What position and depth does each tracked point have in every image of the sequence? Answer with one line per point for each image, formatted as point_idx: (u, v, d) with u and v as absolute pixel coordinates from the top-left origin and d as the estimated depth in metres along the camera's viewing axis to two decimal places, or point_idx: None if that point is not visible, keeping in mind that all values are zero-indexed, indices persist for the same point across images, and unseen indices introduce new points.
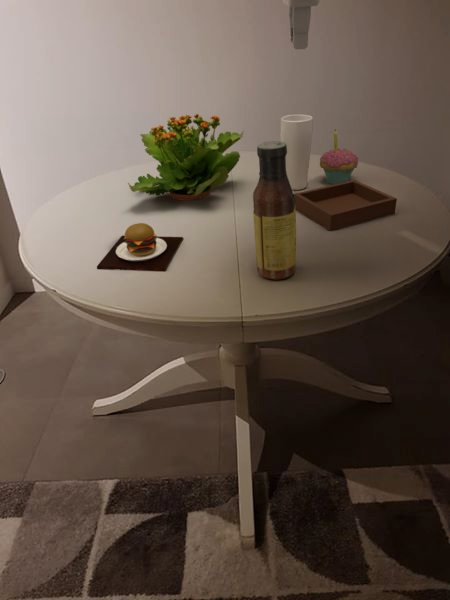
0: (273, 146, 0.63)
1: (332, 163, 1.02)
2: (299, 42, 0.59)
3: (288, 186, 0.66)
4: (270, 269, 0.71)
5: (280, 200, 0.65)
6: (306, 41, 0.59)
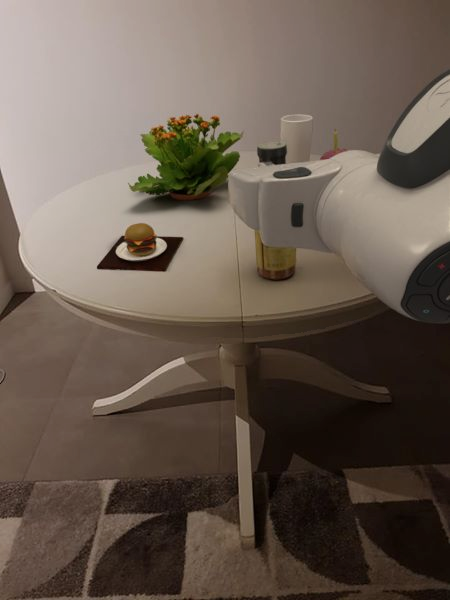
0: (273, 146, 0.63)
1: None
2: None
3: None
4: (270, 269, 0.71)
5: None
6: None
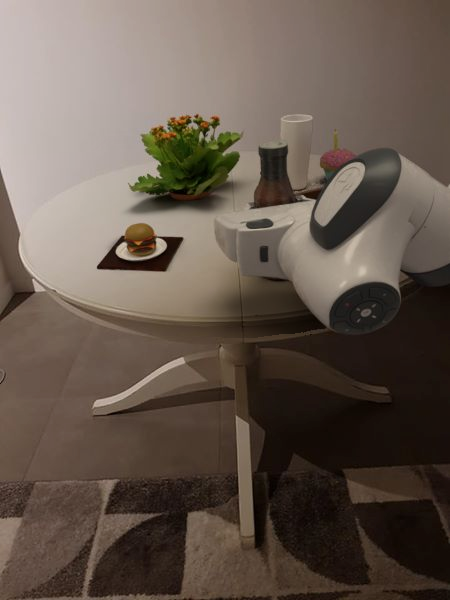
0: (274, 146, 0.63)
1: (332, 163, 1.02)
2: None
3: (289, 186, 0.66)
4: None
5: (280, 200, 0.65)
6: None
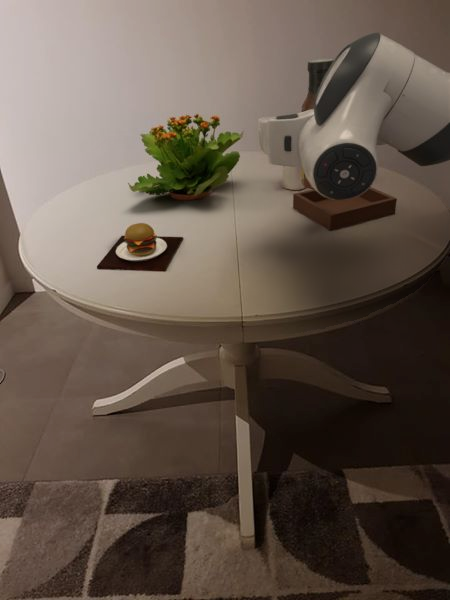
0: (321, 61, 0.72)
1: None
2: None
3: None
4: None
5: None
6: None
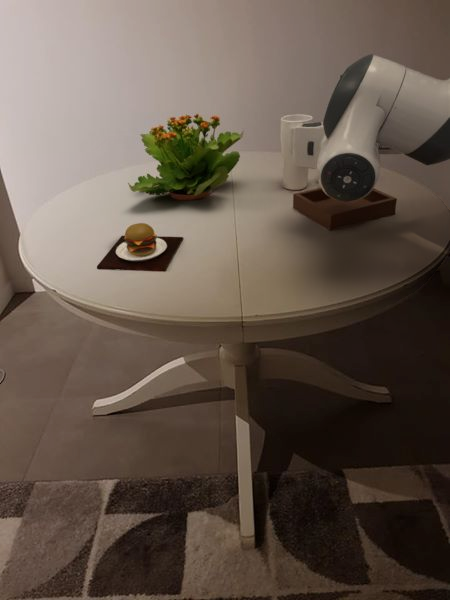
0: None
1: None
2: None
3: None
4: None
5: None
6: None
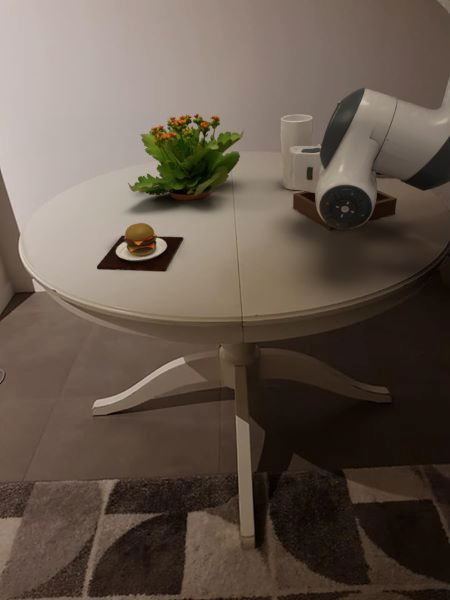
0: None
1: None
2: None
3: None
4: None
5: None
6: None
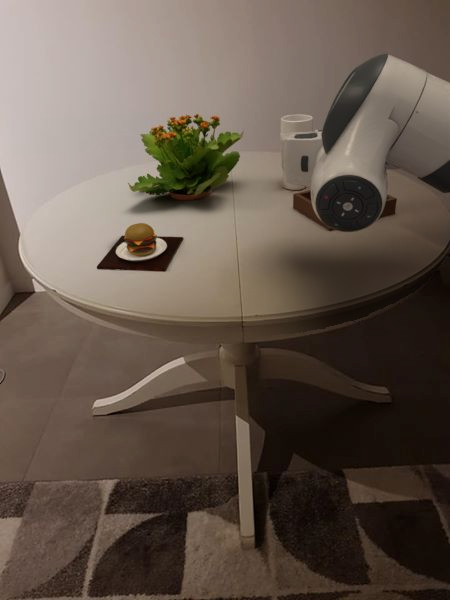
0: None
1: None
2: None
3: None
4: None
5: None
6: None
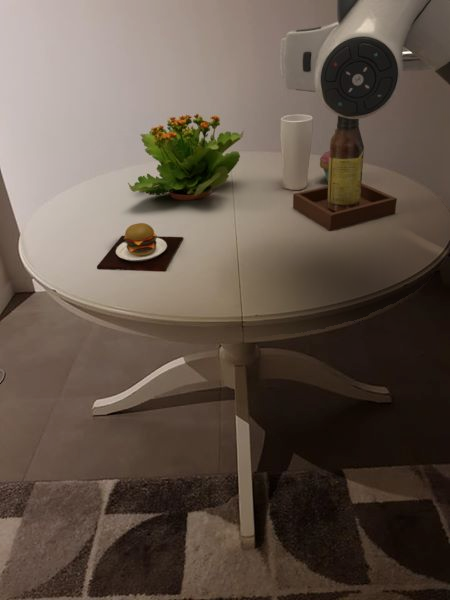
0: None
1: None
2: None
3: (357, 136, 0.84)
4: (334, 203, 0.90)
5: (346, 146, 0.84)
6: None
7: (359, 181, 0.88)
